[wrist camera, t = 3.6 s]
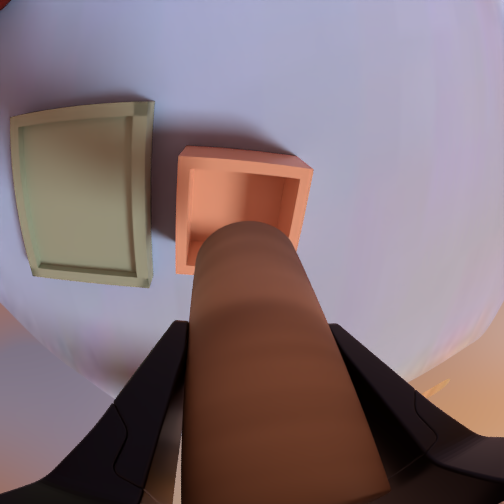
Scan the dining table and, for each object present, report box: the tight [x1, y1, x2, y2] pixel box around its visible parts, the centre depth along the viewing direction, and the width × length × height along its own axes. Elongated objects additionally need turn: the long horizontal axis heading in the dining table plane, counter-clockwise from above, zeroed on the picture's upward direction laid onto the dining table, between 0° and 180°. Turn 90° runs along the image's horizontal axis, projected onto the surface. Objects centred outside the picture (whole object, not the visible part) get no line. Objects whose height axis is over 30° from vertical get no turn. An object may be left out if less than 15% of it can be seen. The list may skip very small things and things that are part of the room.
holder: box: [176, 145, 314, 275], centre depth 17 cm, size 7×7×4 cm
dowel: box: [181, 221, 391, 504], centre depth 7 cm, size 4×4×9 cm
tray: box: [10, 101, 155, 288], centre depth 16 cm, size 12×10×2 cm
